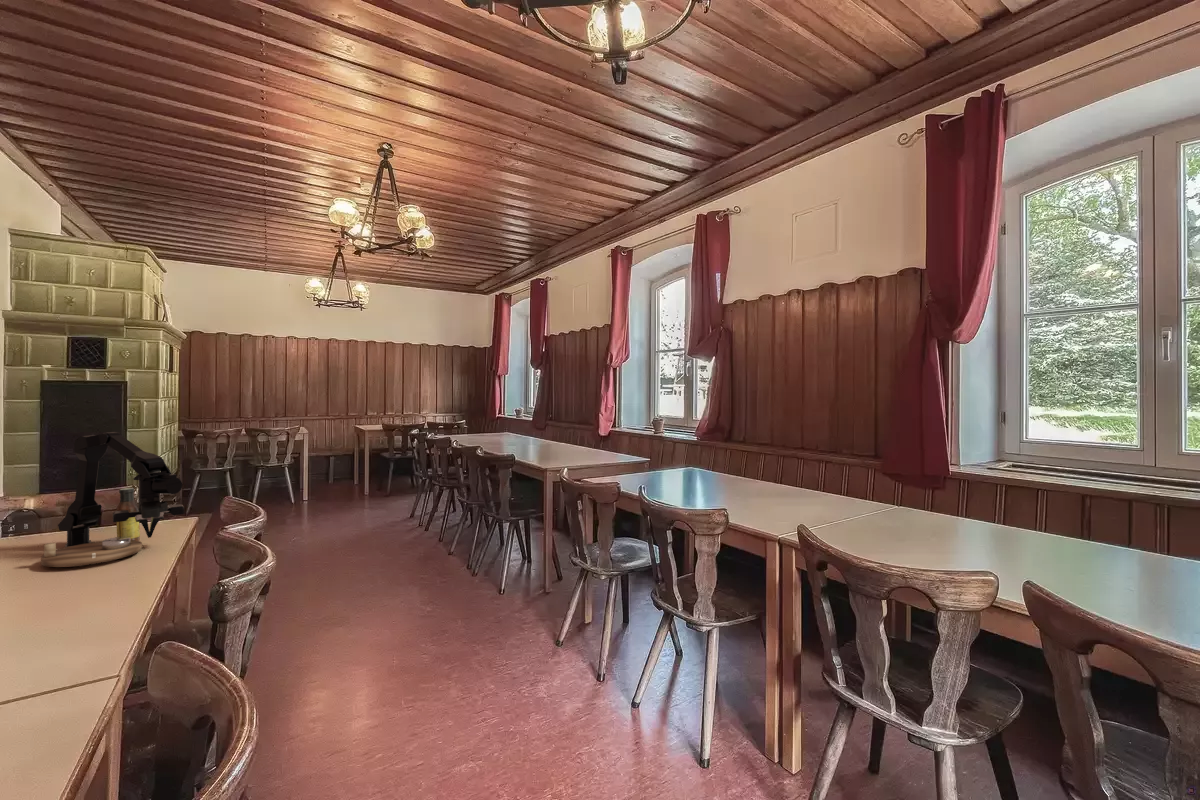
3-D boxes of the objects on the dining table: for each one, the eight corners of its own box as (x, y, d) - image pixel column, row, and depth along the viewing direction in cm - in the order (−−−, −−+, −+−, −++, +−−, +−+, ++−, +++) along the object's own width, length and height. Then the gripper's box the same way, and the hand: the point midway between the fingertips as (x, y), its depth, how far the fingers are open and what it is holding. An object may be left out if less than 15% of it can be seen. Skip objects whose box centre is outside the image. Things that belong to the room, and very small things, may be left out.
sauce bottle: (144, 540, 194) (144, 487, 193) (127, 545, 187) (127, 490, 187) (128, 539, 194) (128, 486, 194) (111, 544, 188) (111, 489, 188)
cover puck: (102, 546, 176) (102, 539, 176) (129, 542, 181) (129, 535, 181) (102, 551, 171) (102, 543, 171) (131, 547, 176) (131, 539, 176)
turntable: (43, 553, 173) (43, 537, 172) (139, 540, 189) (139, 525, 189) (37, 572, 155) (37, 553, 155) (144, 555, 172) (144, 538, 172)
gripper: (113, 500, 170) (113, 547, 170) (186, 493, 183) (186, 537, 183) (112, 494, 177) (112, 540, 178) (182, 488, 191) (182, 530, 191)
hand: (149, 537), depth 182 cm, fingers closed
